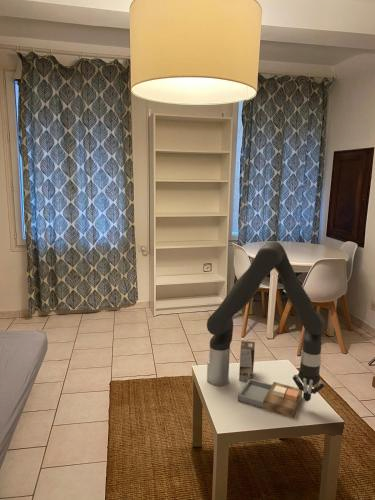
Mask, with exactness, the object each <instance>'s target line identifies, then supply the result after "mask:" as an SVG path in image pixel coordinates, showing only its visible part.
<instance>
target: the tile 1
mask: <svg viewBox="0 0 375 500" xmlns="http://www.w3.org/2000/svg"><path fill="white" fill-rule="evenodd" d="M286 392H287V388H284V387H280V386H277V385H276V387H275V389H274V391H273V395H276V396H279V397H283V398H284V397H285V394H286Z"/></svg>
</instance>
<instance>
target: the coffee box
mask: <svg viewBox="0 0 375 500" xmlns="http://www.w3.org/2000/svg"><path fill="white" fill-rule="evenodd" d="M255 343H256V342H255V341H248V340H247V341H244V340H241V343H240V351H239V352H240V353H239V354H240V356H239V372H238V376H239V377H238V381H240V382H241V381H243V382H247V381H248V380H249V378H250V379H253V377H254V367H255V366H254V363H255V350H256V349H255V345H256V344H255Z"/></svg>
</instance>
